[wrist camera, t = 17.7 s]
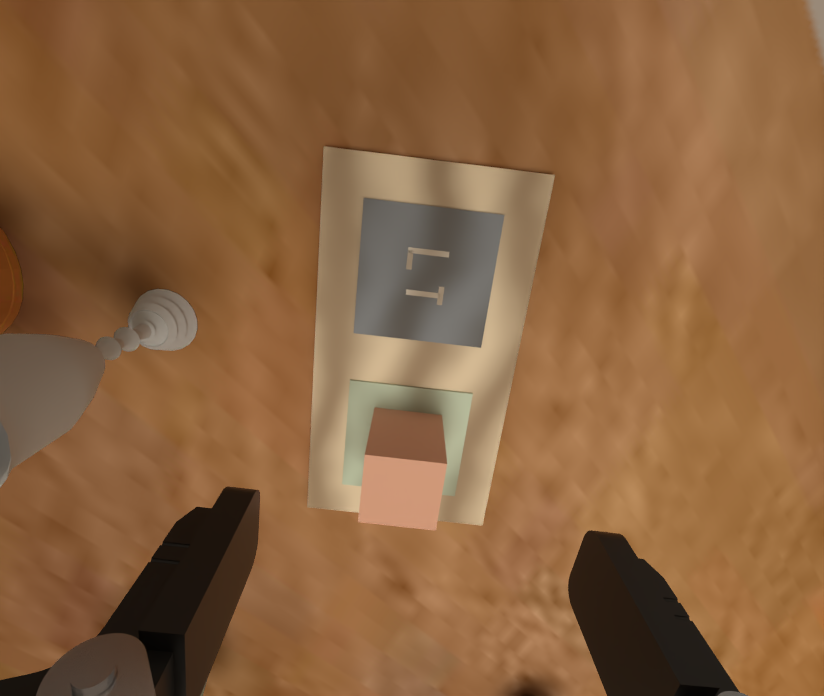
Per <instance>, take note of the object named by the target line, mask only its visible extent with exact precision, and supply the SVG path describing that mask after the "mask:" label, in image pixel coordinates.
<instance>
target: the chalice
mask: <svg viewBox="0 0 824 696" xmlns="http://www.w3.org/2000/svg"><path fill="white" fill-rule="evenodd" d="M196 332H197V318H196V315H195V313H194V310H193V308H192V307H191V306H190V304H189V303H188V302H187V301H186V300H185V299H184V298H183V297H181V296H180V295H179V294H177V293H174V292H172V291H170V290H164V289H155V290H150V291H147V292H146V293H144V294H143V295H141V296H140V297H139V299H138V300H137V301H136V303H135V306H134V307H133V308H132V311H131V312H130V313H129V317H128V327H122V328H119V329H117V330H116V332H115V334H114V338H111V337H102V338H100V339H99V340H98V341H97V343H96V346H94V345H93V344H91V343H90V342H87V341H84V340H80V339H74V338H68V337H62V336H56V335H46V334H2V335H0V487H1V486H2V484H3V483H4V482H5V480H6V479H7V477H8V475H9V473H10V471H11V470H12V468H14V467H15V466H17V465H18V464H20V463H21V462H23V461H24V460H26V459H27V458H29V457H30V456H32V455H33V454H35V453H36V452H38V451H39V450H41V449H42V448H44V447H45V446H47V445H48V444H50V443H51V442H53V441H54V440H56V439H57V438H59V437H60V436H62V435H63V434H65V433H66V432H68V431H69V430H71V429H72V427H73V426H74V425H75V423H76V422H77V421H78V419H79V418H80V417H81V415H82V414H83V412H84V411H85V409H86V408H87V406H88V405H89V403H90V402H91V401H92V399H93V398H94V395H95V393H96V390H97V388H98V385H99V383H100V381H101V378H102V376H103V373H104V370H105V360H104V359H107V360H114V359H116V358H118V357H119V356H120V354H121V350H124V351H134V350H136V349H137V348H138V346H139V344H141V345H142V346H144V347H146V348H149V349H154V350H170V351H174V350H178V349H182V348H184V347H186V346H187V345H189V344H190V343H191V341H192V340H193V339H194V338H195V335H196Z"/></svg>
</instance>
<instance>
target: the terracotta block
mask: <svg viewBox="0 0 824 696" xmlns="http://www.w3.org/2000/svg"><path fill="white" fill-rule="evenodd" d="M446 468H447V457H446V447H445V438H444V429H443V419H442V415H437V414H428V413H420V412H411V411H402V410H394V409H385V408H376V407H375V408H374V413H373V417H372V422H371V427H370V432H369V436H368V441H367V446H366V451H365V457H364V467H363V477H362V487H361V497H360V507H359V517H358V522H362V523H371V524H381V525H390V526H399V527H408V528H417V529H427V530H436V527H437V521H438V515H439V509H440V503H441V498H442V492H443V486H444V480H445V474H446Z"/></svg>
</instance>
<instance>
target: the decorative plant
mask: <svg viewBox="0 0 824 696" xmlns="http://www.w3.org/2000/svg"><path fill="white" fill-rule="evenodd" d="M22 300H23V279H22V273H21V267H20V264H19V262H18V259H17V256H16V253H15V251H14V249H13V247H12V245H11V243H10V241H9V240H8V238H7V236H6V234H5V233H4V231H3V230H2V229H1V227H0V334H2V333H3V332H4V331H5V330H6V329H7V328H8V327H9V326H11V324H12V323H13V321H14V320H15V318H16V316H17V315H18V313H19V310H20V306H21V303H22Z"/></svg>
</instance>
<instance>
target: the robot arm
mask: <svg viewBox="0 0 824 696" xmlns="http://www.w3.org/2000/svg"><path fill="white" fill-rule="evenodd" d="M259 508H260V492H259V490H253V489H244V488H236V487H225V488H224V490H223V491H222V493H221V494H220V496H219V498H218V499H217V501H216V503H215V504H214V506H213V507H212V508H203V507H196V508H195V509H193V510H192V511H191V512H189V513H188V514H186V515H185V516H184V517H182V518H181V519H180V520H178V521H177V522H176V523H175V525H174V526H173V528H172V529H171V530H170V532H169V533H168V535H167V536H166V538H165V539H164V541H163V544H162V546H161V545H160V546H159V548H158V549H157V551H156V552H155V554H154V555H153V557H152V559H151V562H148V564H147V565H146V567H145V568H144V570H143V571H142V573H141V574H140V576H139V577H138V578H137V580H136V581H135V583H134V584H133V586H132V587H131V589H130V590H129V592H128V593H127V594H126V596H125V597H124V599H123V600H122V602H121V603H120V605H119V606H118V608H117V609H116V611H115V612H114V613H113V615H112V616H111V618H110V619H109V621H108V622H107V624H106V625H105V627H104V628H103V629H102V630H101V632H100V633H99V634H98V635H97V636H96V637H95V638H92V639H89V640H87V641H85V642H83V643H81V644H79V645H78V646H76V647H74V648H73V649H71V650H70V651H69V652H67V653H66V654H65V655H63V656H62V657H61V658H60V659H59V660H58V661H57V662H56V663H55V664H54V665H53V666H52V667H51V668H48V669H45V670H43V671H39V672H36V673H32V674H27V675H23V676H18V677H13V678H9V679H4V680H0V696H200V695H201V693H202V690H203V688H204V685H205V683H206V680H207V678H208V675H209V673H210V670H211V668H212V665H213V663H214V661H215V658H216V656H217V653H218V651H219V648H220V646H221V643H222V641H223V638H224V636H225V633H226V631H227V628H228V626H229V623H230V621H231V618H232V616H233V614H234V611H235V609H236V606H237V604H238V601H239V599H240V596H241V594H242V591H243V589H244V586H245V584H246V581H247V579H248V576H249V574H250V571H251V569H252V566H253V563H254V559H255V555H256V550H257V544H258V528H259ZM568 591H569V599H570V603H571V606H572V609H573V611H574V614H575V616H576V619H577V621H578V624H579V626H580V629H581V631H582V634H583V636H584V639H585V641H586V644H587V646H588V649H589V651H590V654H591V656H592V659H593V661H594V664H595V666H596V669H597V671H598V674H599V676H600V679H601V681H602V684H603V686H604V689H605V691H606V694H607V696H748V695H745V694H743V693H740V692H739V691H738V689H737V688H736V686H735V685H734V683H733V682H732V680H731V679H730V677H729V676H728V674H727V673H726V671H725V670H724V668H723V667H722V665H721V664H720V662H719V661H718V659H717V658H716V656H715V654H714V653H713V651H712V650H711V648H710V647H709V645H708V644H707V642H706V641H705V639H704V638H703V636H702V635H701V633H700V632H699V630H698V629H697V627H696V626H695V624H694V623H693V621H690V620H689V615H688V614H687V612H686V611H685V609H684V608H683V606H682V605H681V603H678V601H677V597H676V596H675V594H674V593H673V591H672V590H671V588H670V587H669V585H668V584H667V582H666V581H665V579H664V578H663V577H662V576H661V575H660V574H659V573H658V572H657V571H656V570H655V569H654V568H653V567H651V566H650V565H649V564H648V563H647V562H646V561H645V560H644V559H638V557H637V556H636V554H635V553H634V551H633V550H632V548H631V546H630V545H629V543H628V542H627V540H626V539H625V537H624V536H623V535H621V534H616V533H608V532H599V531H588V532H587V533H586V534H585V536H584V538H583V541H582V544H581V546H580V549H579V552H578V555H577V557H576V560H575V563H574V566H573V568H572V571H571V574H570V577H569V584H568Z"/></svg>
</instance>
